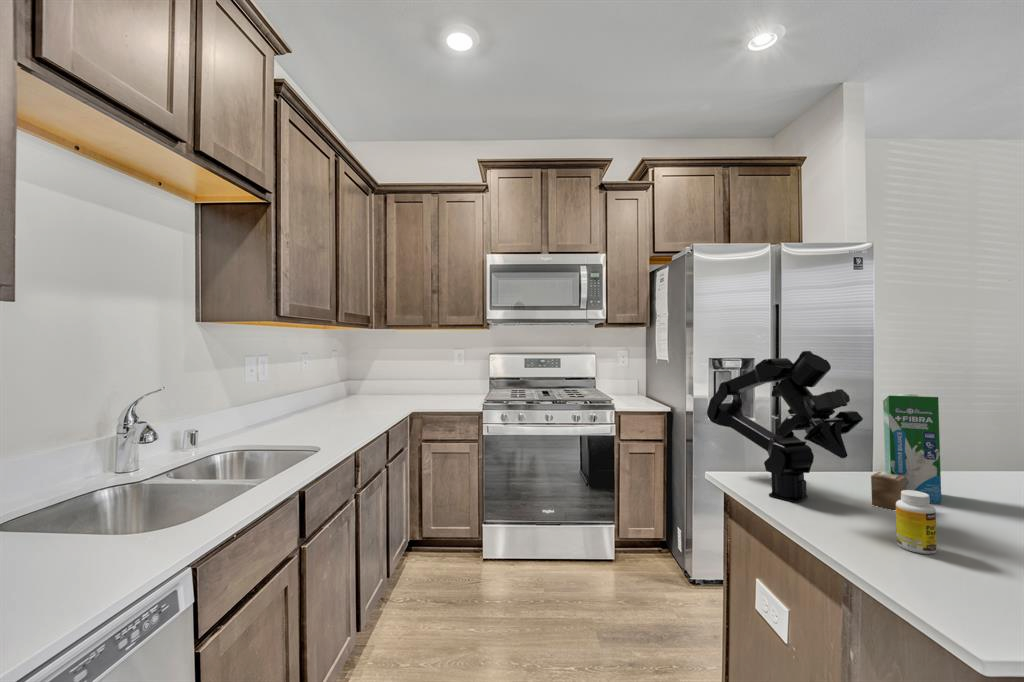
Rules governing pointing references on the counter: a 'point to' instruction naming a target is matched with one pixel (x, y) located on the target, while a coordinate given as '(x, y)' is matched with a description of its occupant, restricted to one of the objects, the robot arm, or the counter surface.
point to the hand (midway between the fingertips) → (844, 457)
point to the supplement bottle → (916, 522)
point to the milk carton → (913, 442)
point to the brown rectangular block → (887, 489)
